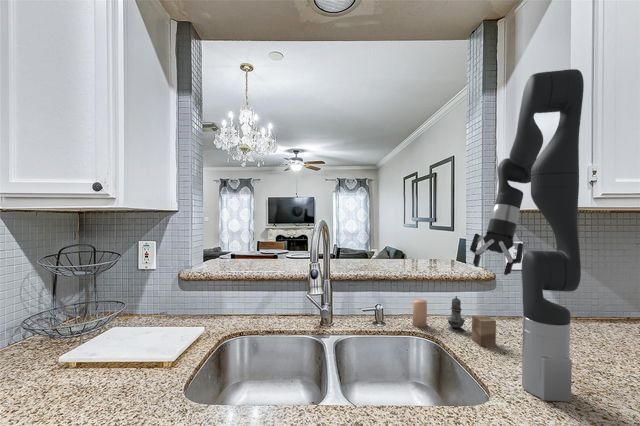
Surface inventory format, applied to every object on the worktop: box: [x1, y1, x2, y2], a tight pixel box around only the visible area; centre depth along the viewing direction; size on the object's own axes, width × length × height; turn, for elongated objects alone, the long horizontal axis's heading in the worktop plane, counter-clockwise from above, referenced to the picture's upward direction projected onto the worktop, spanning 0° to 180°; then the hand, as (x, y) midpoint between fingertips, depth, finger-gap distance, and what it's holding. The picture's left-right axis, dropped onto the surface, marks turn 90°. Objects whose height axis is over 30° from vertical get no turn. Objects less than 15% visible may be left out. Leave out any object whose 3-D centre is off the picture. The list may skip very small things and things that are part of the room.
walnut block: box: [471, 314, 497, 347], centre depth 105 cm, size 5×5×8 cm
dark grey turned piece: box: [447, 295, 466, 333], centre depth 116 cm, size 6×6×12 cm
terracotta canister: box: [412, 298, 428, 329], centre depth 120 cm, size 5×5×9 cm
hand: (490, 270), depth 102 cm, fingers open, 8 cm apart
